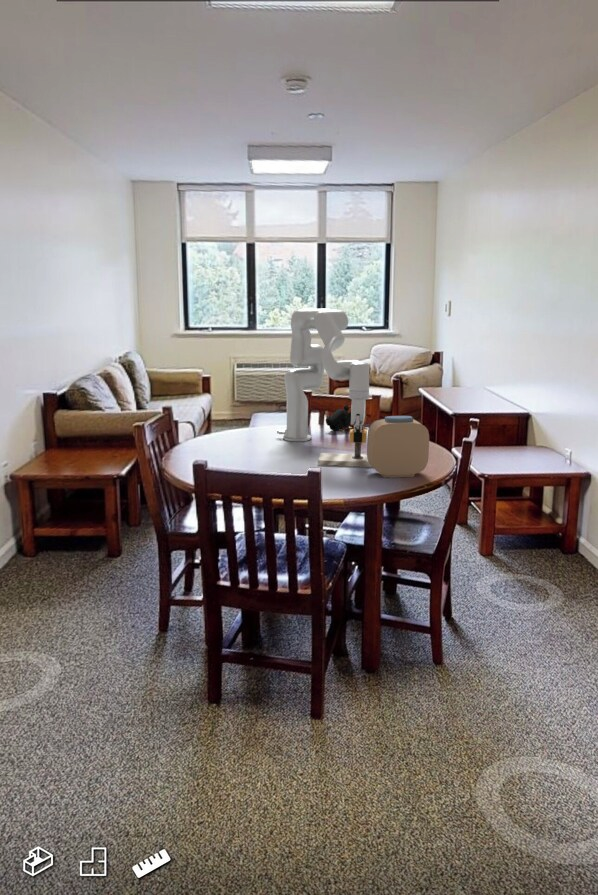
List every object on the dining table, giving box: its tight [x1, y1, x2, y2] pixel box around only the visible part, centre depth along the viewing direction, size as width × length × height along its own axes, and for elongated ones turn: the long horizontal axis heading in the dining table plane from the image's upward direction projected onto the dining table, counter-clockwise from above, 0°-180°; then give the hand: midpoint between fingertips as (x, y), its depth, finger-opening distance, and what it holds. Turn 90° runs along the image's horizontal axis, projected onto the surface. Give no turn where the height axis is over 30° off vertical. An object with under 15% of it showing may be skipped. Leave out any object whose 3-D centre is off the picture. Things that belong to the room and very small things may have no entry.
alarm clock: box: [366, 415, 430, 478], centre depth 250 cm, size 21×10×22 cm, turn 98°
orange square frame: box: [349, 428, 368, 444], centre depth 266 cm, size 6×6×4 cm
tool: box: [325, 403, 367, 432], centre depth 331 cm, size 8×23×15 cm, turn 132°
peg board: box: [317, 443, 373, 468], centre depth 268 cm, size 22×12×8 cm, turn 83°
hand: (358, 439), depth 267 cm, fingers closed on orange square frame, 6 cm apart
